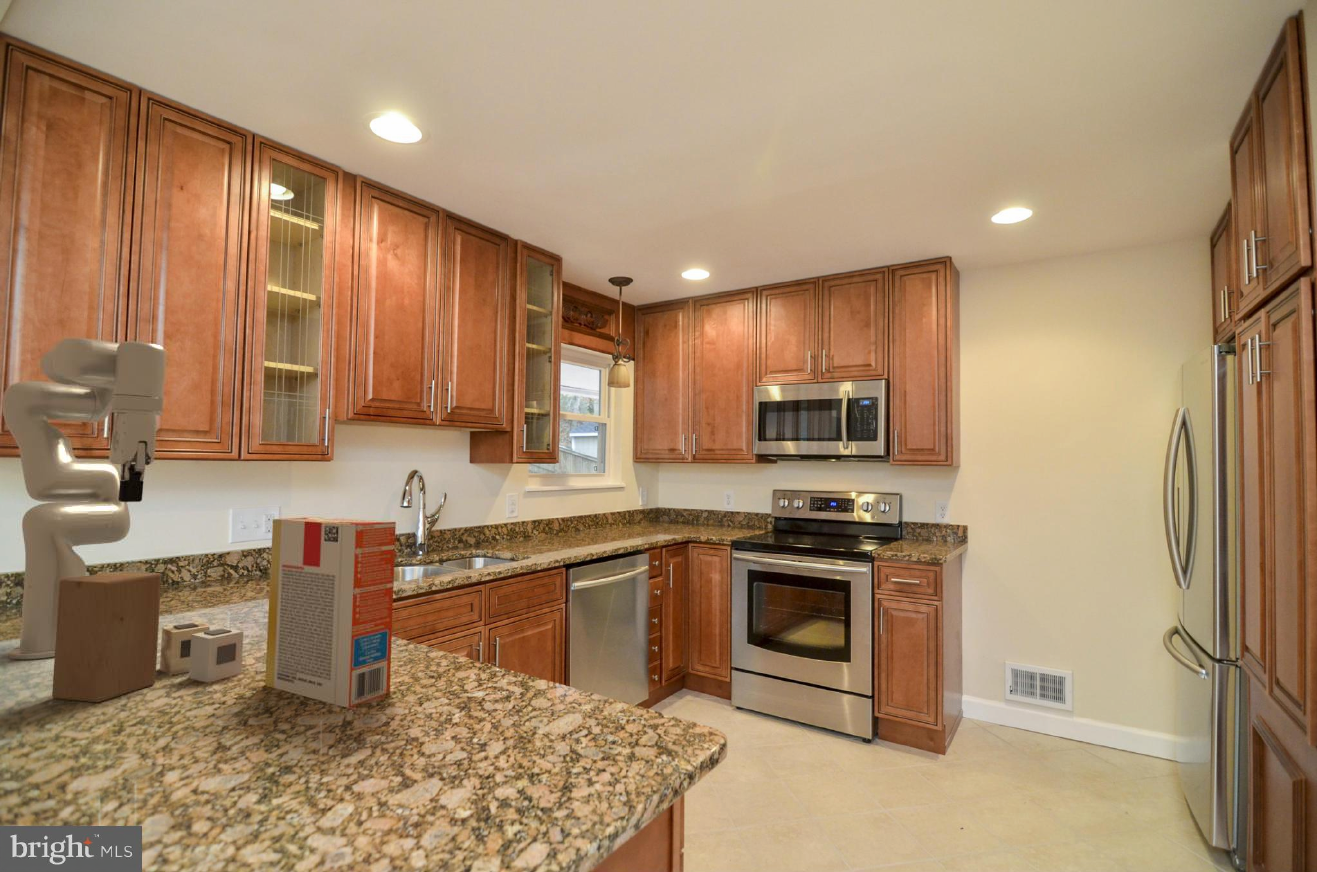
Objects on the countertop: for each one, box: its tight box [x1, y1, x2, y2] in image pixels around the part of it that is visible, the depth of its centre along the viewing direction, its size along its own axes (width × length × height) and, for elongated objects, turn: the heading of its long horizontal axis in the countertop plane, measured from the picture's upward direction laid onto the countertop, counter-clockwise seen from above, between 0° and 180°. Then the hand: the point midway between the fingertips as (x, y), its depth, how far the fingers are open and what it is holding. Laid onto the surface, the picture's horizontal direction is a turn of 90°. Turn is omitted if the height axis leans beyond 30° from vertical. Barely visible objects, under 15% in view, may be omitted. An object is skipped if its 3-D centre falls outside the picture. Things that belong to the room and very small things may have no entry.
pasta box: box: [264, 516, 397, 709], centre depth 114 cm, size 23×8×30 cm, turn 63°
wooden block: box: [51, 570, 162, 703], centre depth 111 cm, size 10×10×20 cm
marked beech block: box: [159, 621, 210, 676], centre depth 124 cm, size 6×6×8 cm
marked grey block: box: [188, 627, 244, 684], centre depth 120 cm, size 6×6×8 cm
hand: (130, 501), depth 121 cm, fingers closed
